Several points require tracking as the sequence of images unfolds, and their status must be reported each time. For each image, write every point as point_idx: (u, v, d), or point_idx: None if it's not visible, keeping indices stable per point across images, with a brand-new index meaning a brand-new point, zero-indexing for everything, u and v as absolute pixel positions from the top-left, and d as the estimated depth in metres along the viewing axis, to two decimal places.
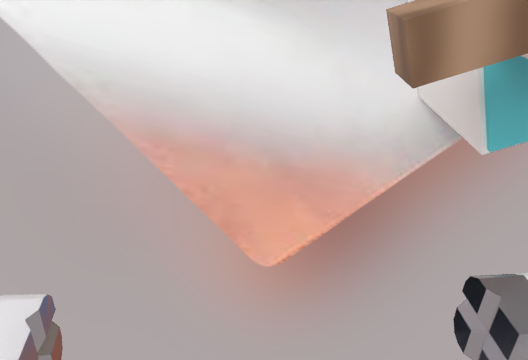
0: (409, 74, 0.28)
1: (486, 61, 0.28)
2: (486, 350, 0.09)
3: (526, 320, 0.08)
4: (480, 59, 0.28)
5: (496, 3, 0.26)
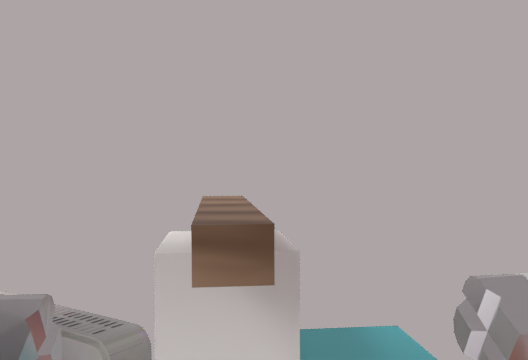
0: (258, 230, 0.24)
1: (260, 215, 0.28)
2: (486, 350, 0.09)
3: (526, 320, 0.08)
4: (256, 216, 0.28)
5: (206, 215, 0.28)
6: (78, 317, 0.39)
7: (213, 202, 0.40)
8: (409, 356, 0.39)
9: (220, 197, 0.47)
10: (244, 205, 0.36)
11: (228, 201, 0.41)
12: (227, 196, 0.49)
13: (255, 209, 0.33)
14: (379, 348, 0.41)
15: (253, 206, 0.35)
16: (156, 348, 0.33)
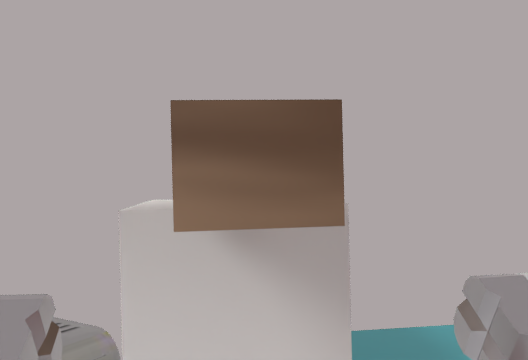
0: (309, 111, 0.11)
1: None
2: (486, 350, 0.09)
3: (526, 320, 0.08)
4: None
5: None
6: None
7: None
8: None
9: None
10: None
11: None
12: None
13: None
14: (453, 355, 0.29)
15: None
16: None
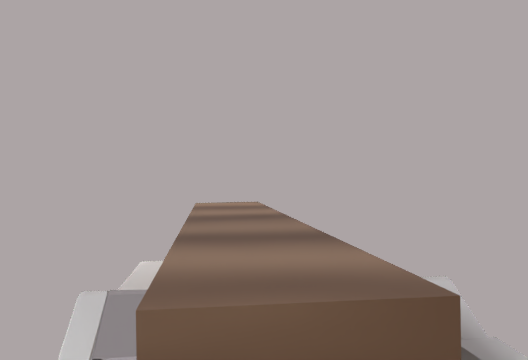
0: (401, 321, 0.06)
1: (344, 247, 0.10)
2: None
3: None
4: (337, 250, 0.10)
5: (198, 248, 0.11)
6: None
7: None
8: None
9: (223, 204, 0.29)
10: (275, 218, 0.19)
11: (239, 210, 0.23)
12: None
13: (307, 227, 0.15)
14: None
15: (295, 220, 0.18)
16: None
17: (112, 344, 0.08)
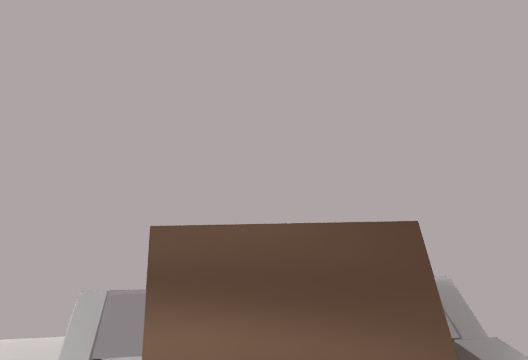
0: (372, 238, 0.07)
1: None
2: None
3: None
4: None
5: None
6: None
7: None
8: None
9: None
10: None
11: None
12: None
13: None
14: None
15: None
16: None
17: (112, 345, 0.08)
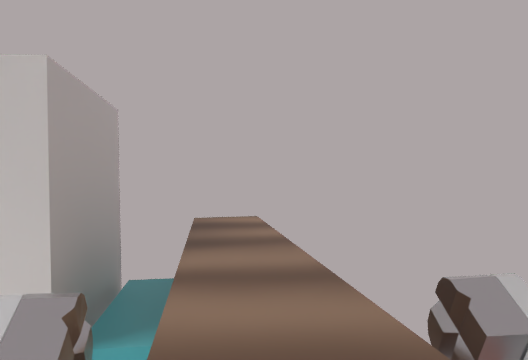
0: None
1: (351, 296, 0.10)
2: (457, 352, 0.09)
3: (495, 322, 0.08)
4: (343, 300, 0.10)
5: (198, 294, 0.10)
6: None
7: (212, 234, 0.22)
8: None
9: (223, 220, 0.29)
10: (276, 243, 0.18)
11: (239, 231, 0.23)
12: (233, 217, 0.30)
13: (310, 260, 0.14)
14: None
15: (296, 247, 0.17)
16: None
17: (15, 351, 0.07)
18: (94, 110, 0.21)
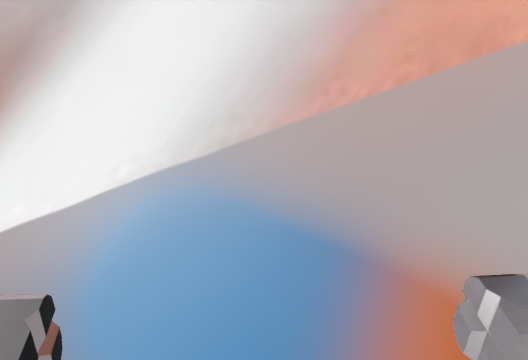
0: None
1: None
2: (486, 350, 0.09)
3: (526, 320, 0.08)
4: None
5: None
6: None
7: None
8: None
9: None
10: None
11: None
12: None
13: None
14: None
15: None
16: None
17: None
18: None
